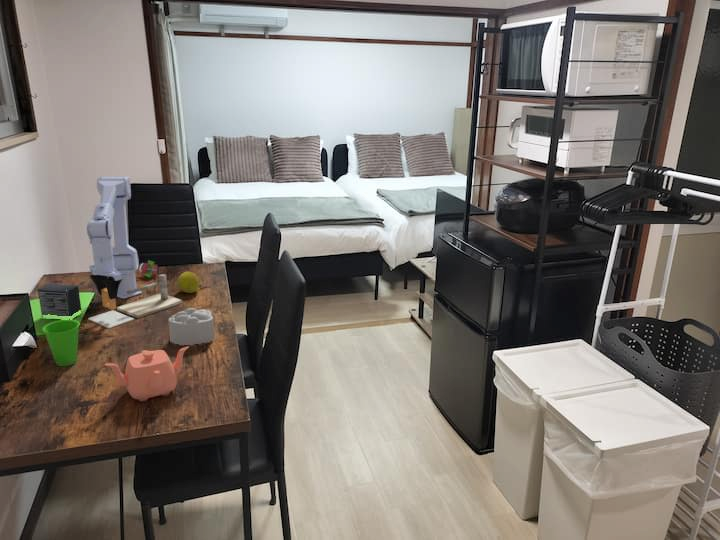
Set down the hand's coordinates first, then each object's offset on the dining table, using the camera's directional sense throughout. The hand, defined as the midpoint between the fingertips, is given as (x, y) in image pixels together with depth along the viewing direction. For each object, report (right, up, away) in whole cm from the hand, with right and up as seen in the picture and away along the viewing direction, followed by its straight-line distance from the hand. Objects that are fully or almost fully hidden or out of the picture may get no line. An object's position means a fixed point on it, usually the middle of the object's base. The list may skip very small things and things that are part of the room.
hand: (108, 296), depth 171 cm
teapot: (+30, -23, -39) cm, 55 cm away
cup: (+1, -17, -25) cm, 31 cm away
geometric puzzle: (-4, +6, +45) cm, 46 cm away
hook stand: (+8, -4, +15) cm, 17 cm away
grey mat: (0, -8, +3) cm, 8 cm away
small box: (-17, -7, +4) cm, 19 cm away
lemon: (+17, 0, +30) cm, 34 cm away
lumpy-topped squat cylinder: (+30, -13, -8) cm, 34 cm away
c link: (0, -4, +1) cm, 4 cm away
